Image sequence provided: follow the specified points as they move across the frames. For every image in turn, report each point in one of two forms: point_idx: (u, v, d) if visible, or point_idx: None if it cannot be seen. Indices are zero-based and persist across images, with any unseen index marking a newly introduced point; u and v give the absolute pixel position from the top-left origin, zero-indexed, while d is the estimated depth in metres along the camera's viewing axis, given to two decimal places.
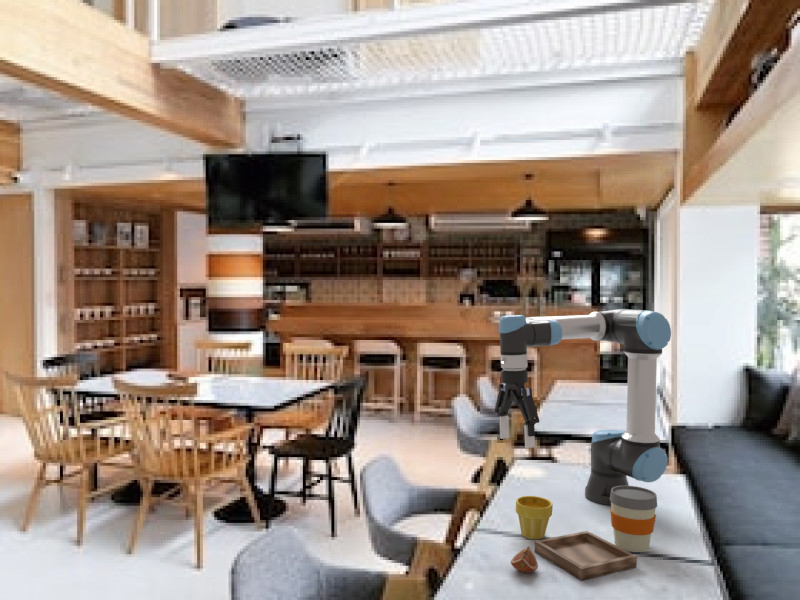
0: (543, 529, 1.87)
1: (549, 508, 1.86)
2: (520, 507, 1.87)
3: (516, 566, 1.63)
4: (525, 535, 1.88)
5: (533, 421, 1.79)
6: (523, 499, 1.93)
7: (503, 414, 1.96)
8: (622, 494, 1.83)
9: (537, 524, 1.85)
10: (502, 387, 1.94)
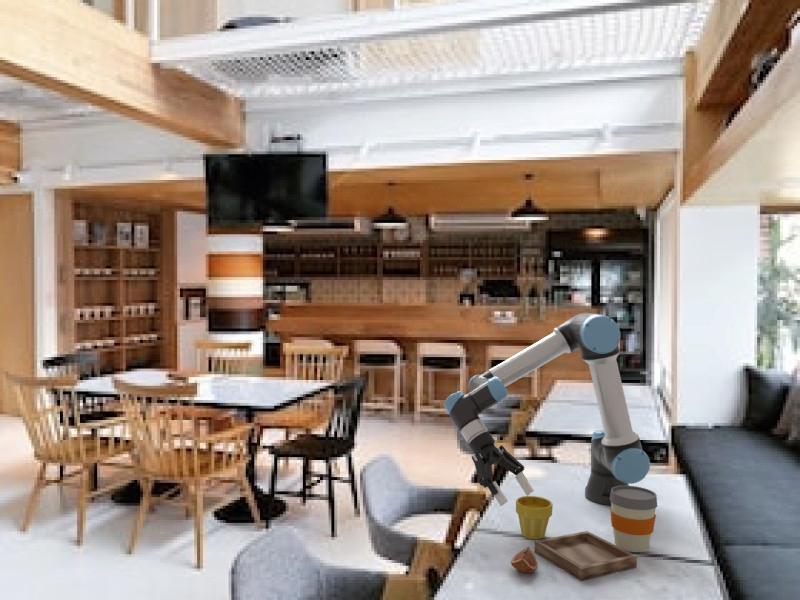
0: (543, 529, 1.87)
1: (549, 508, 1.86)
2: (520, 507, 1.87)
3: (516, 566, 1.63)
4: (525, 535, 1.88)
5: (481, 483, 1.89)
6: (523, 499, 1.93)
7: (517, 472, 2.01)
8: (622, 494, 1.83)
9: (537, 524, 1.85)
10: None
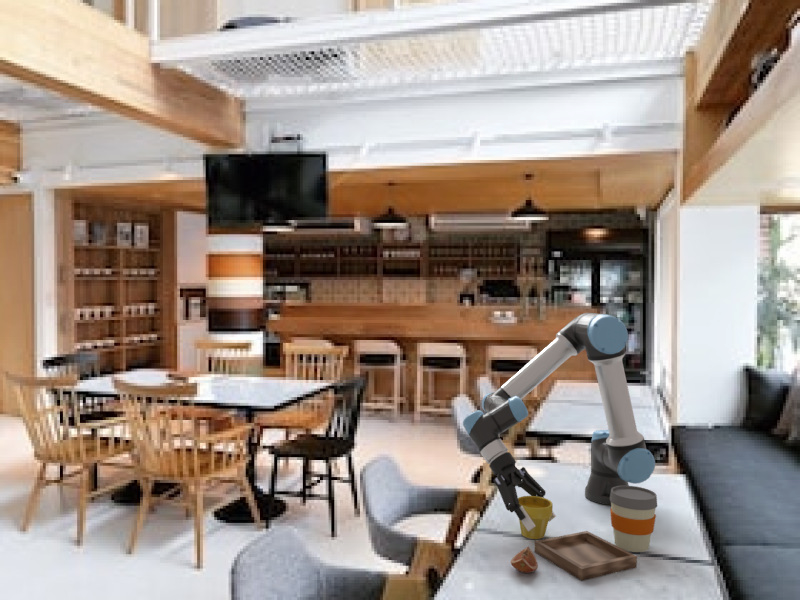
0: (543, 529, 1.87)
1: (549, 508, 1.86)
2: None
3: (516, 566, 1.63)
4: (525, 535, 1.88)
5: (507, 508, 1.85)
6: (523, 499, 1.93)
7: None
8: (622, 494, 1.83)
9: (537, 524, 1.85)
10: None
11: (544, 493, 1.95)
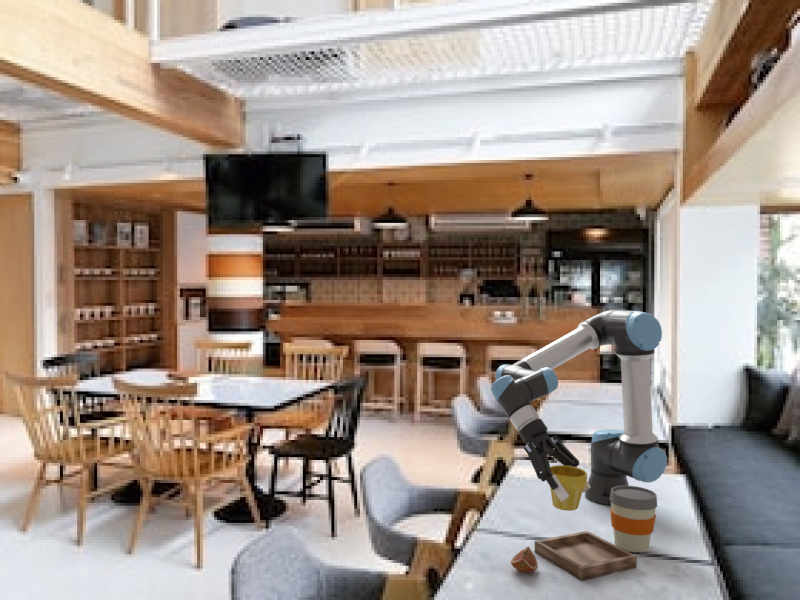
0: (577, 500, 1.74)
1: (583, 477, 1.73)
2: None
3: (516, 566, 1.63)
4: (557, 506, 1.75)
5: (539, 476, 1.73)
6: (555, 468, 1.81)
7: None
8: (622, 494, 1.83)
9: (571, 494, 1.73)
10: None
11: (578, 463, 1.82)
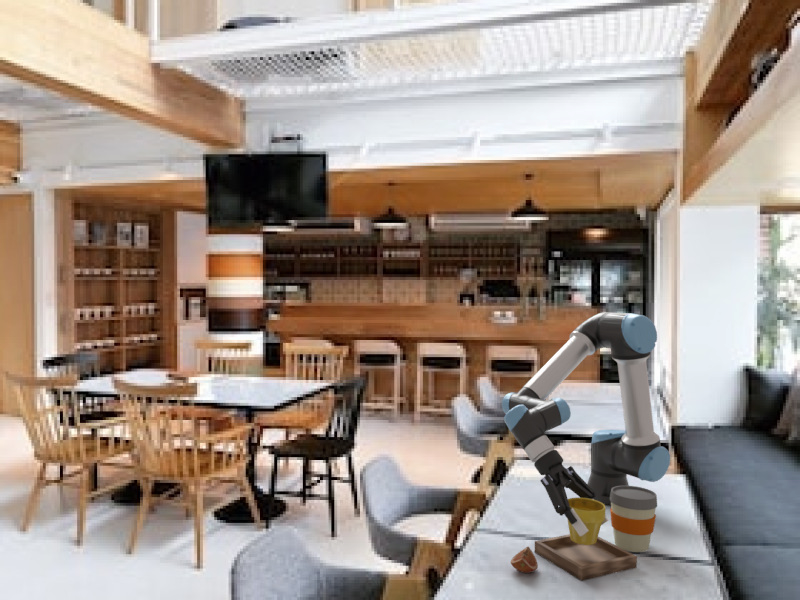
0: (595, 534, 1.70)
1: (602, 511, 1.69)
2: (570, 509, 1.70)
3: (516, 566, 1.63)
4: (575, 540, 1.71)
5: (557, 510, 1.69)
6: (572, 501, 1.77)
7: None
8: (622, 494, 1.83)
9: (590, 529, 1.69)
10: None
11: (594, 495, 1.78)
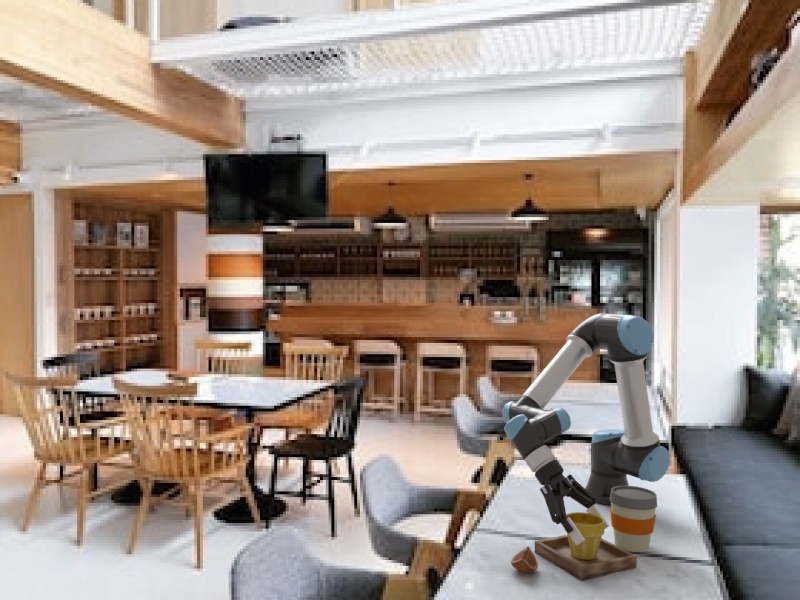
0: (596, 548, 1.71)
1: (602, 525, 1.70)
2: None
3: (516, 566, 1.63)
4: (576, 555, 1.71)
5: (553, 519, 1.68)
6: (571, 516, 1.77)
7: (589, 505, 1.80)
8: (622, 494, 1.83)
9: (590, 543, 1.69)
10: None
11: (595, 500, 1.80)
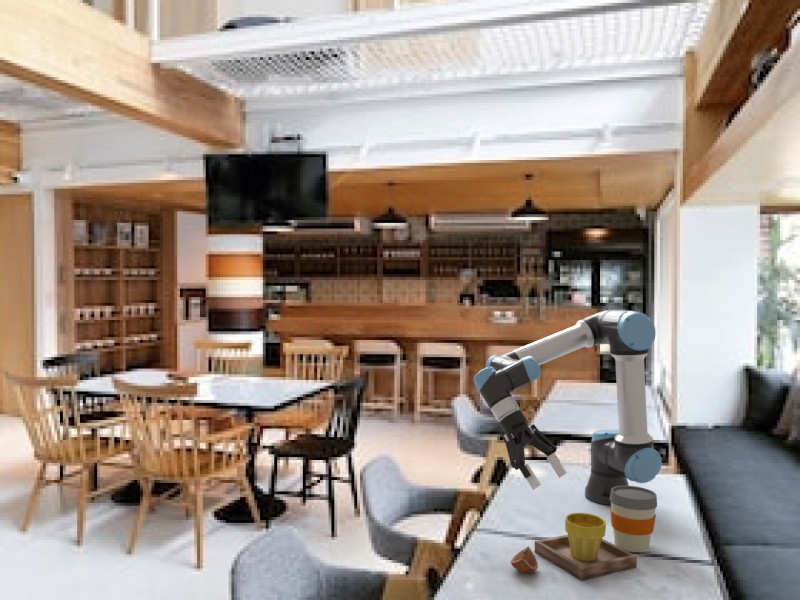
0: (596, 550, 1.70)
1: (603, 527, 1.70)
2: (570, 525, 1.71)
3: (516, 566, 1.63)
4: (576, 556, 1.71)
5: (512, 465, 1.79)
6: (572, 516, 1.77)
7: (550, 453, 1.91)
8: (622, 494, 1.83)
9: (590, 545, 1.69)
10: None
11: (555, 449, 1.90)
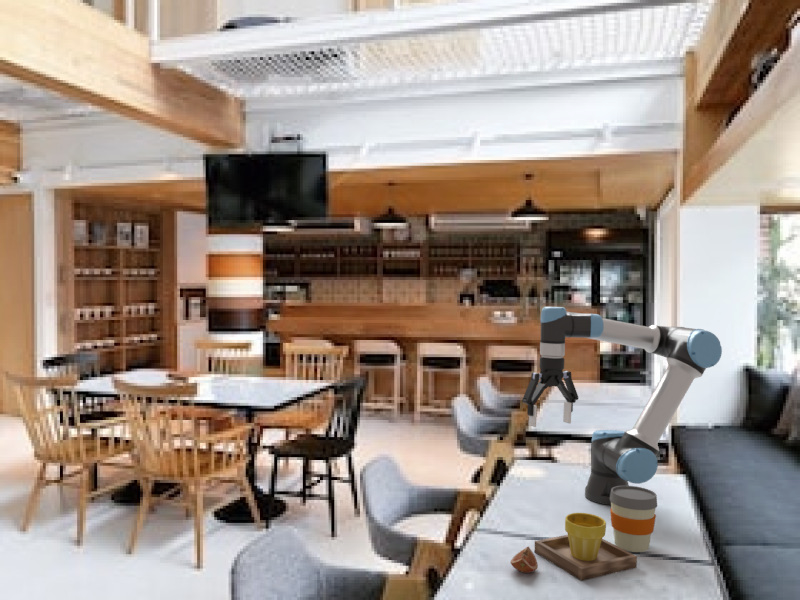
0: (596, 550, 1.70)
1: (603, 527, 1.70)
2: (570, 525, 1.71)
3: (516, 566, 1.63)
4: (576, 556, 1.71)
5: (523, 400, 2.01)
6: (572, 516, 1.77)
7: (568, 400, 2.08)
8: (622, 494, 1.83)
9: (590, 545, 1.69)
10: None
11: (574, 401, 2.06)
